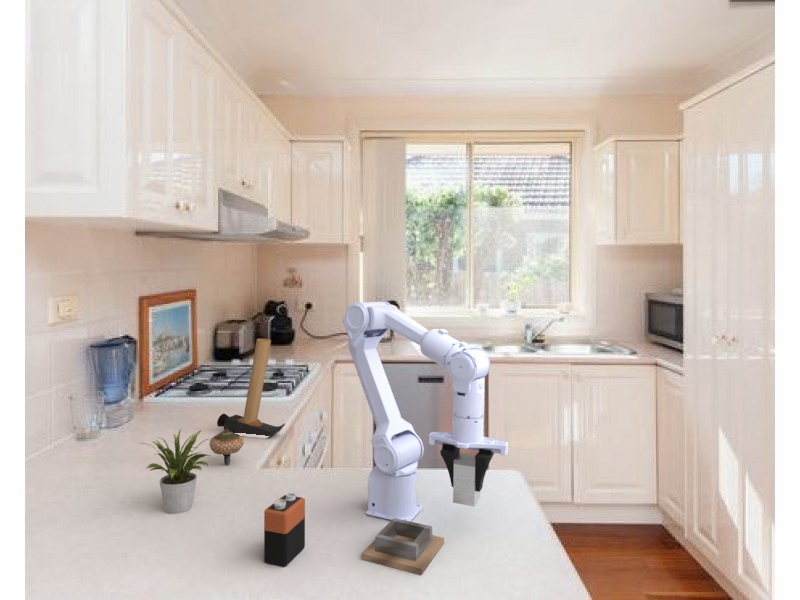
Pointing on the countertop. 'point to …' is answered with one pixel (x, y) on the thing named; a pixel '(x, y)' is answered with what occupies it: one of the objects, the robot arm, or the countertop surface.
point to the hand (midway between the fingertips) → (466, 487)
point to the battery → (284, 529)
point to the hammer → (252, 399)
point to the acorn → (226, 444)
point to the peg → (465, 480)
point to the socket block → (404, 546)
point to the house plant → (178, 474)
